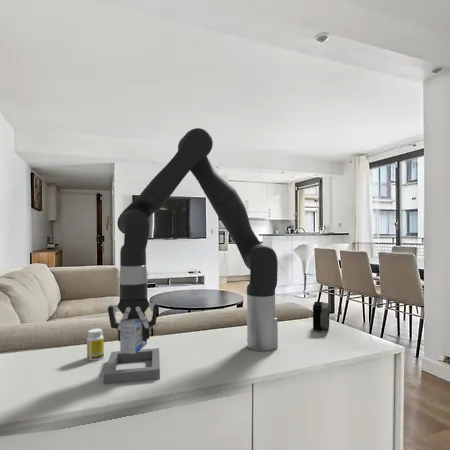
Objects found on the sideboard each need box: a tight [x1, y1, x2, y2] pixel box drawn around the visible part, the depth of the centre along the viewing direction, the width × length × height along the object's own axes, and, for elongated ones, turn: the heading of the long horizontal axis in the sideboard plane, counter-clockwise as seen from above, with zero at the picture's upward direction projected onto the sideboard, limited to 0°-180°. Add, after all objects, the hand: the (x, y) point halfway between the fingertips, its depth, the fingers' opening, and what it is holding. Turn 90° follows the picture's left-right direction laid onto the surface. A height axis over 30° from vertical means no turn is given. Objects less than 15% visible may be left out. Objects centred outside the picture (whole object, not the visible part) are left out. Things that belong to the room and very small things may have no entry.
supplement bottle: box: [86, 328, 105, 362], centre depth 104 cm, size 5×5×8 cm
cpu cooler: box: [312, 301, 330, 332], centre depth 131 cm, size 10×6×10 cm, turn 159°
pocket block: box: [102, 347, 161, 385], centre depth 96 cm, size 14×16×2 cm
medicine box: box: [119, 315, 148, 354], centre depth 96 cm, size 8×4×9 cm, turn 169°
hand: (133, 341), depth 96 cm, fingers closed on medicine box, 5 cm apart
